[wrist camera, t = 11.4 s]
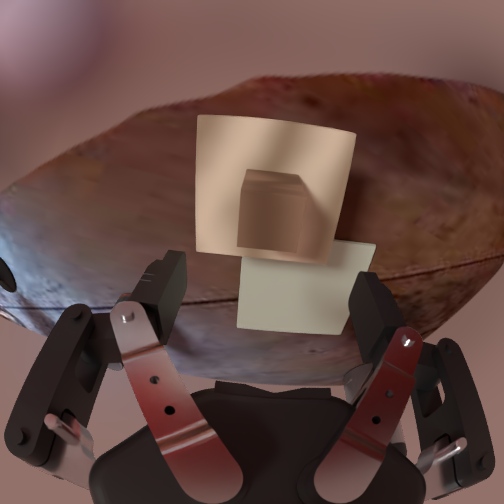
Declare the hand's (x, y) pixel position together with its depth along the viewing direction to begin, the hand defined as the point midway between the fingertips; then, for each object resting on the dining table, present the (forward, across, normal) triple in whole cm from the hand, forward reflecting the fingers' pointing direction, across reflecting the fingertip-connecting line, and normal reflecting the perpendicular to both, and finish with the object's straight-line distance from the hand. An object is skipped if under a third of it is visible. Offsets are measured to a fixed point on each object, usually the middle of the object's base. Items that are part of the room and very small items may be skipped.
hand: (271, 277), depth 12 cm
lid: (+12, 0, 0) cm, 12 cm away
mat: (+18, -6, +15) cm, 24 cm away
